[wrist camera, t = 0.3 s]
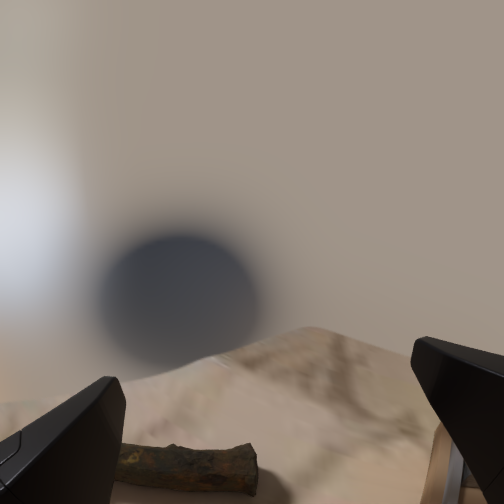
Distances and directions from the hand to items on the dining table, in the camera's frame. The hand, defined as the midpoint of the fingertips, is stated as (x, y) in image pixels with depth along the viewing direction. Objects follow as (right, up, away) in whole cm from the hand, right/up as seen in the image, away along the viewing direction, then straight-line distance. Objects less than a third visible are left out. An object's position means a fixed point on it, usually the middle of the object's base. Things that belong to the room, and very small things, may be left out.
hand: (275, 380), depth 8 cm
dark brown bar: (-10, -14, +9) cm, 19 cm away
